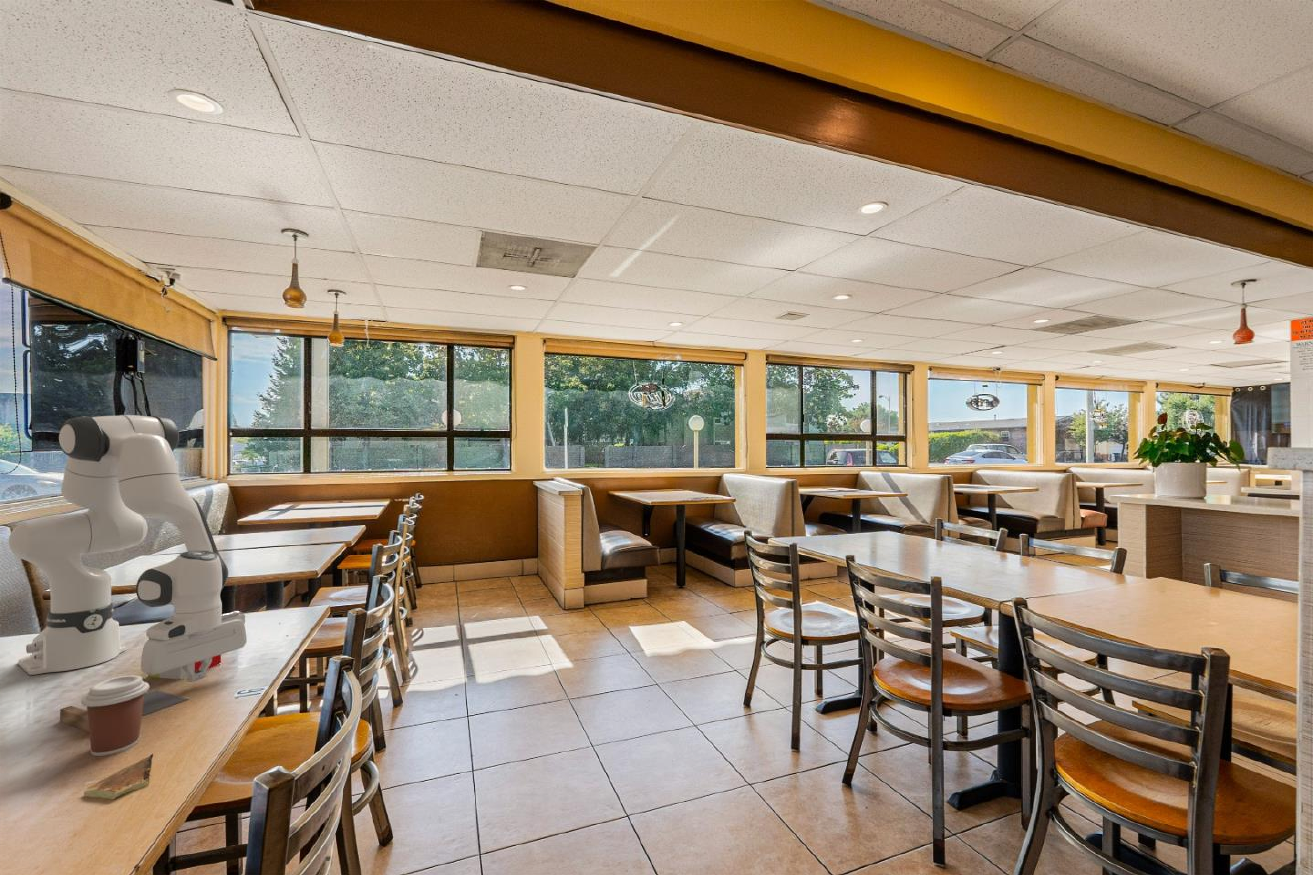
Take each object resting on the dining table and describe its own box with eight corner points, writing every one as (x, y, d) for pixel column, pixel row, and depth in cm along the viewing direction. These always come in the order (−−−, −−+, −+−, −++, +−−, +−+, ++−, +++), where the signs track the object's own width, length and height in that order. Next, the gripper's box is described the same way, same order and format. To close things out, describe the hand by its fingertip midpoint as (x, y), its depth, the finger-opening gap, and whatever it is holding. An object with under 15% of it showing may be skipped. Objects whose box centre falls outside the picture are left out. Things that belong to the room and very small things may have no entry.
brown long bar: (60, 721, 113) (60, 709, 113) (70, 717, 115) (70, 705, 115) (97, 734, 108) (97, 721, 108) (108, 730, 110) (108, 717, 110)
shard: (152, 761, 100) (152, 751, 100) (188, 765, 98) (188, 755, 98) (81, 799, 89) (81, 788, 89) (120, 804, 88) (120, 792, 88)
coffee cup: (149, 729, 110) (150, 668, 110) (147, 747, 103) (148, 683, 104) (83, 745, 104) (84, 681, 104) (77, 766, 97) (78, 697, 98)
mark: (87, 713, 117) (87, 712, 117) (156, 690, 128) (156, 689, 128) (119, 724, 112) (119, 723, 112) (187, 699, 123) (187, 698, 123)
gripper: (236, 607, 141) (235, 661, 141) (137, 631, 122) (136, 694, 122) (252, 610, 139) (252, 665, 139) (154, 635, 120) (152, 699, 120)
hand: (196, 679), depth 130 cm, fingers closed
